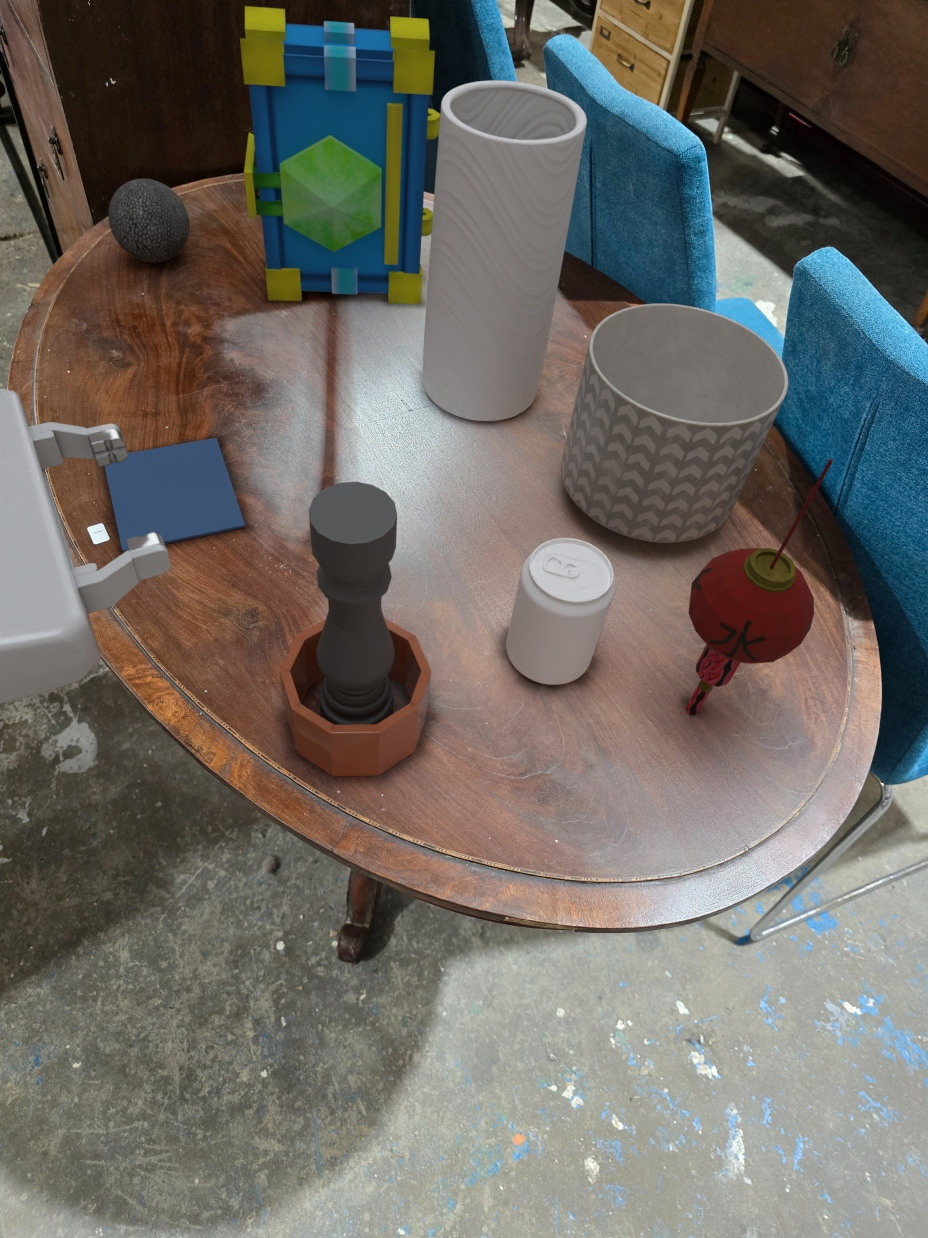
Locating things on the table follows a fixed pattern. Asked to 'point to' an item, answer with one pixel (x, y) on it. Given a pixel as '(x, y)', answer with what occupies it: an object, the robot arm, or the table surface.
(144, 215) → the decorative ball
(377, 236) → the decorative book
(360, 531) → the candle holder
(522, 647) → the beverage can
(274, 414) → the table surface
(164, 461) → the blue cloth
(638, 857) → the table surface
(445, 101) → the vase
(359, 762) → the terracotta pot
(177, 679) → the table surface
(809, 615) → the lantern
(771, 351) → the planter
